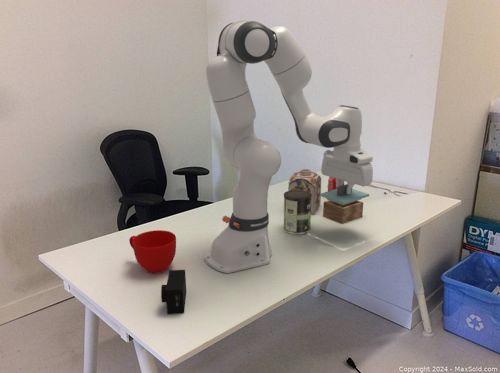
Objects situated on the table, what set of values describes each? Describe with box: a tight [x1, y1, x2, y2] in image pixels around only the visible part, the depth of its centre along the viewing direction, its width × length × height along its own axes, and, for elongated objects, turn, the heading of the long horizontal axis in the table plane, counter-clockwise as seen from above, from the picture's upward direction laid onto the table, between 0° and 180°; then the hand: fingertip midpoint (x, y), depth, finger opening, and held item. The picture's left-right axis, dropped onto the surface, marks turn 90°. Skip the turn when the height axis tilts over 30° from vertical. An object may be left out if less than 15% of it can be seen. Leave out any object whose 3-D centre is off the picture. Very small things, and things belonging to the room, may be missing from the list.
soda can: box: [327, 176, 345, 192], centre depth 184 cm, size 7×7×12 cm
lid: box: [320, 183, 370, 205], centre depth 142 cm, size 13×11×5 cm
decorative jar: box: [287, 168, 322, 216], centre depth 171 cm, size 12×12×18 cm
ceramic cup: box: [129, 229, 177, 274], centre depth 126 cm, size 13×17×10 cm
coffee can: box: [282, 190, 312, 235], centre depth 152 cm, size 10×10×14 cm
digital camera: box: [160, 269, 187, 315], centre depth 107 cm, size 10×5×7 cm, turn 5°
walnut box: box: [322, 200, 364, 225], centre depth 163 cm, size 12×10×7 cm
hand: (344, 192), depth 142 cm, fingers closed on lid
